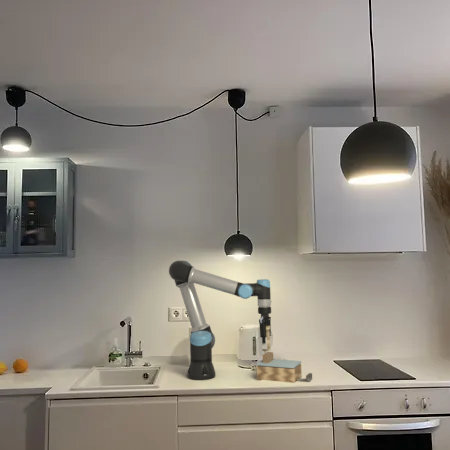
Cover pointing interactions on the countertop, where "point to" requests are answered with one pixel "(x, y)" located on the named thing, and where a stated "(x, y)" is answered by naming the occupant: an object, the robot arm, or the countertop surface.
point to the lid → (277, 361)
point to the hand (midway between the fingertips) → (266, 348)
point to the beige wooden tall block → (267, 338)
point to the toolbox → (282, 374)
